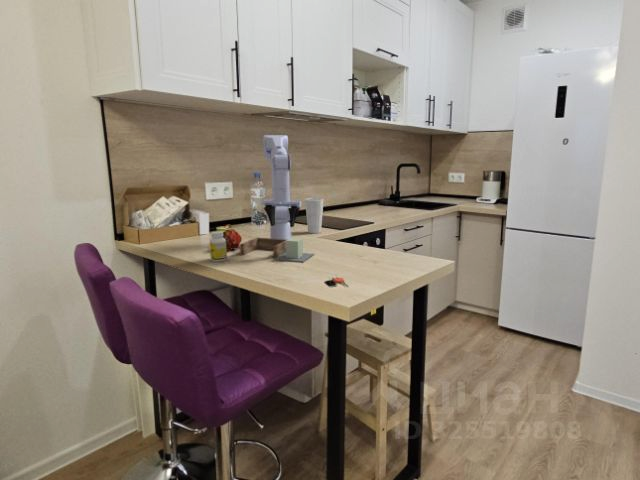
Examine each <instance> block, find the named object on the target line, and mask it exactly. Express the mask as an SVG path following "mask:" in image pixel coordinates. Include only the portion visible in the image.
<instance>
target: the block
mask: <svg viewBox="0 0 640 480" xmlns="http://www.w3.org/2000/svg"><path fill="white" fill-rule="evenodd" d="M303 248H304V247H303V238H295V237H291V238H290V239H288V240H286V257H288V258H299V257H301V256H302V255H303V253H304V252H303Z"/></svg>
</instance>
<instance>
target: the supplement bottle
mask: <svg viewBox="0 0 640 480" xmlns="http://www.w3.org/2000/svg"><path fill="white" fill-rule="evenodd" d="M223 232H224V231H217V230H216V231H212V232H211V233H210V235H211V236H210V237H211V238H210V239H209V247H210V249H209V250H210V260H211V261H212V262H215V263H216V262H217V263H218V262H224V261H227V259H228V256H227V254H228V253H227V250H226V240H225V238H223Z"/></svg>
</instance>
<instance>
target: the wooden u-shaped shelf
mask: <svg viewBox="0 0 640 480" xmlns="http://www.w3.org/2000/svg"><path fill="white" fill-rule="evenodd" d="M239 246H240V255H241V256H245V255H247V254H249V253H252V252H254V251H255V250H258V249H261V250H273V258H274V259H275V258H276V257H278V256H280V255H282V254H283V253H285V252H286V239H271V237H269V238H268V237H255V238H252V239H250V240H248V241H244V242H243V243H242V242H241V243H240V244H239Z"/></svg>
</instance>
